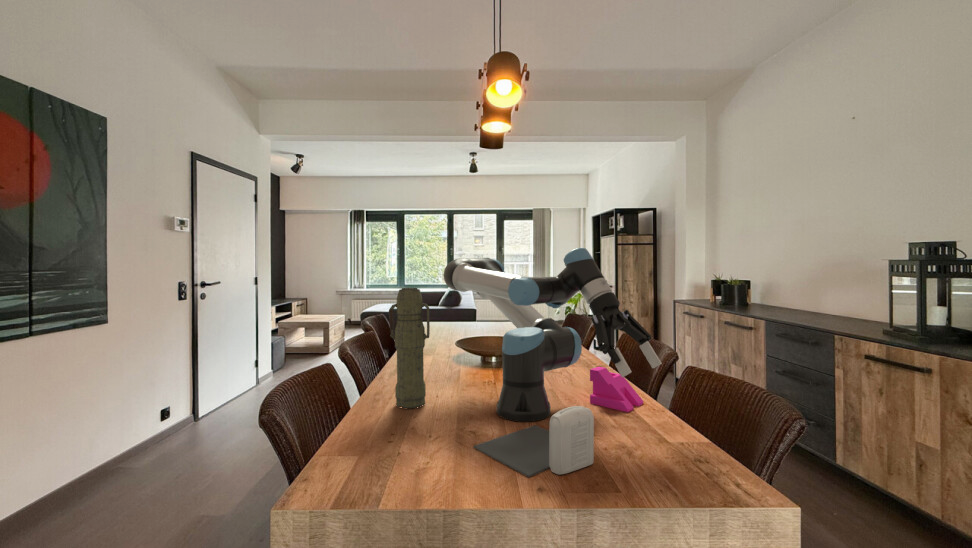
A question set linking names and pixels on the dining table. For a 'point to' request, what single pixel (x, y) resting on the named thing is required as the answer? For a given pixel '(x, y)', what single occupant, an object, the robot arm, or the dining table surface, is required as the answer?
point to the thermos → (409, 347)
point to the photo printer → (571, 439)
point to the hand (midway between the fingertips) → (642, 370)
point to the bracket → (612, 390)
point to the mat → (520, 450)
